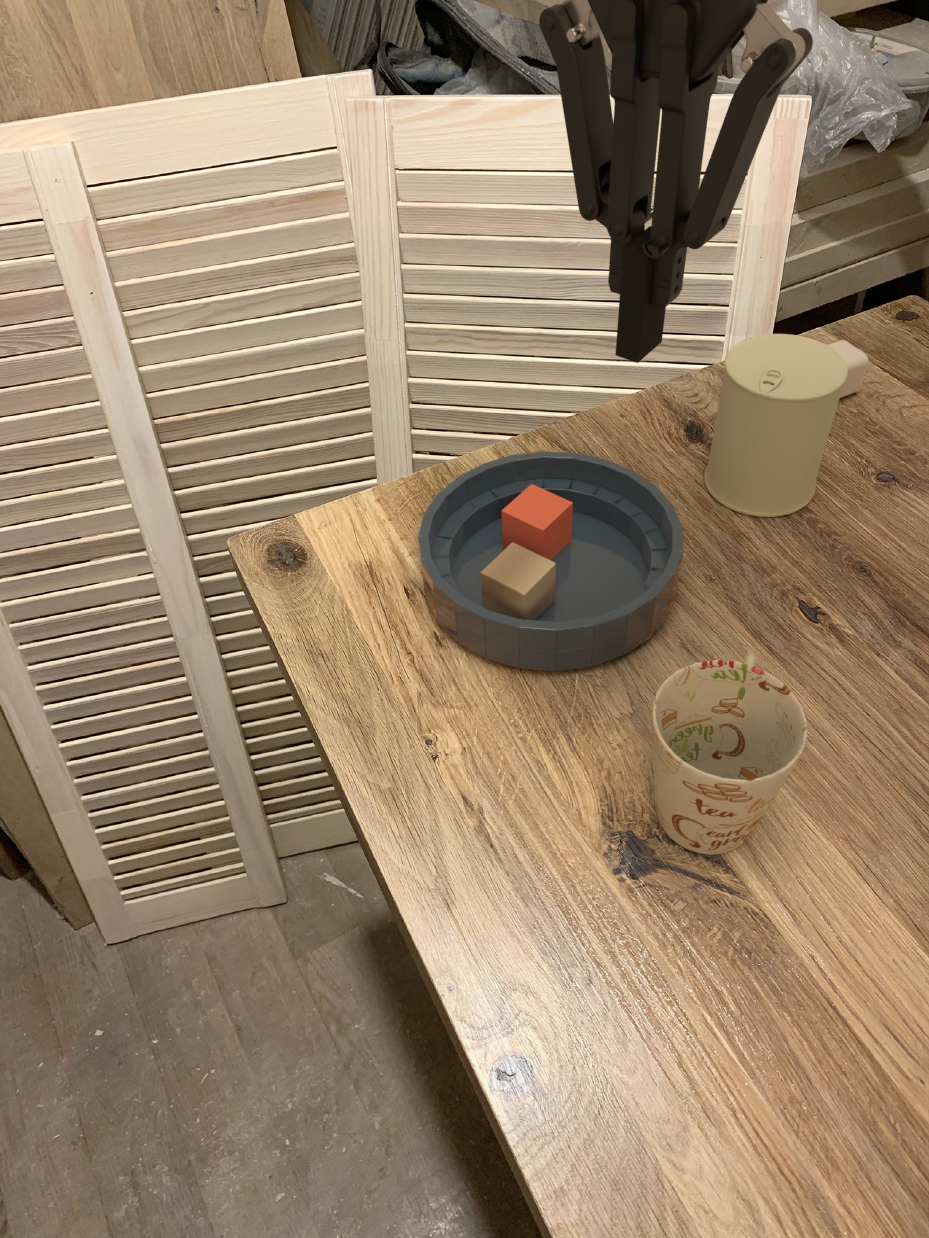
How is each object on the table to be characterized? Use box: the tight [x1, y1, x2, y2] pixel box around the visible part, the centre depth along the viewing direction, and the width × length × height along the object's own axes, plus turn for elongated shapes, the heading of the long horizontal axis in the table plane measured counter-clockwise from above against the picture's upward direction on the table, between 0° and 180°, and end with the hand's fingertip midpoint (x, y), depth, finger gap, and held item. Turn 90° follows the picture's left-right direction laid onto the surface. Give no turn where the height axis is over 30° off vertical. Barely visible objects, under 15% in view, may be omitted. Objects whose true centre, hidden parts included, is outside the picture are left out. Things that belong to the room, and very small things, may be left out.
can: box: [703, 333, 848, 518], centre depth 75 cm, size 9×9×12 cm
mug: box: [650, 651, 808, 855], centre depth 56 cm, size 8×13×10 cm, turn 158°
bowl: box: [417, 450, 684, 672], centre depth 71 cm, size 20×20×5 cm
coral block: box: [502, 484, 573, 560], centre depth 73 cm, size 4×4×4 cm
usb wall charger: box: [826, 339, 869, 399], centre depth 86 cm, size 4×7×4 cm, turn 116°
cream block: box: [480, 542, 556, 620], centre depth 69 cm, size 4×4×4 cm
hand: (638, 348), depth 54 cm, fingers closed
